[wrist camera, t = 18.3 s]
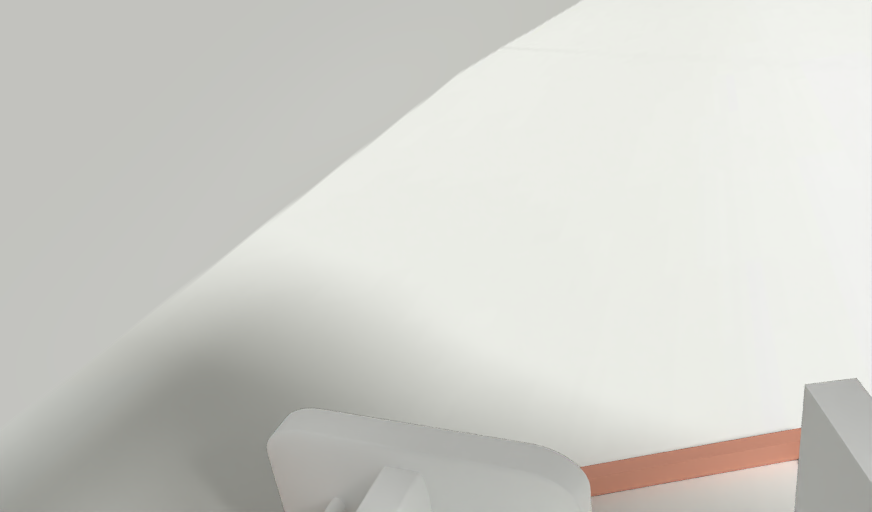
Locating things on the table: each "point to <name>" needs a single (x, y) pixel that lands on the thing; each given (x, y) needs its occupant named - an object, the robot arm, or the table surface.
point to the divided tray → (693, 462)
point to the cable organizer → (415, 469)
